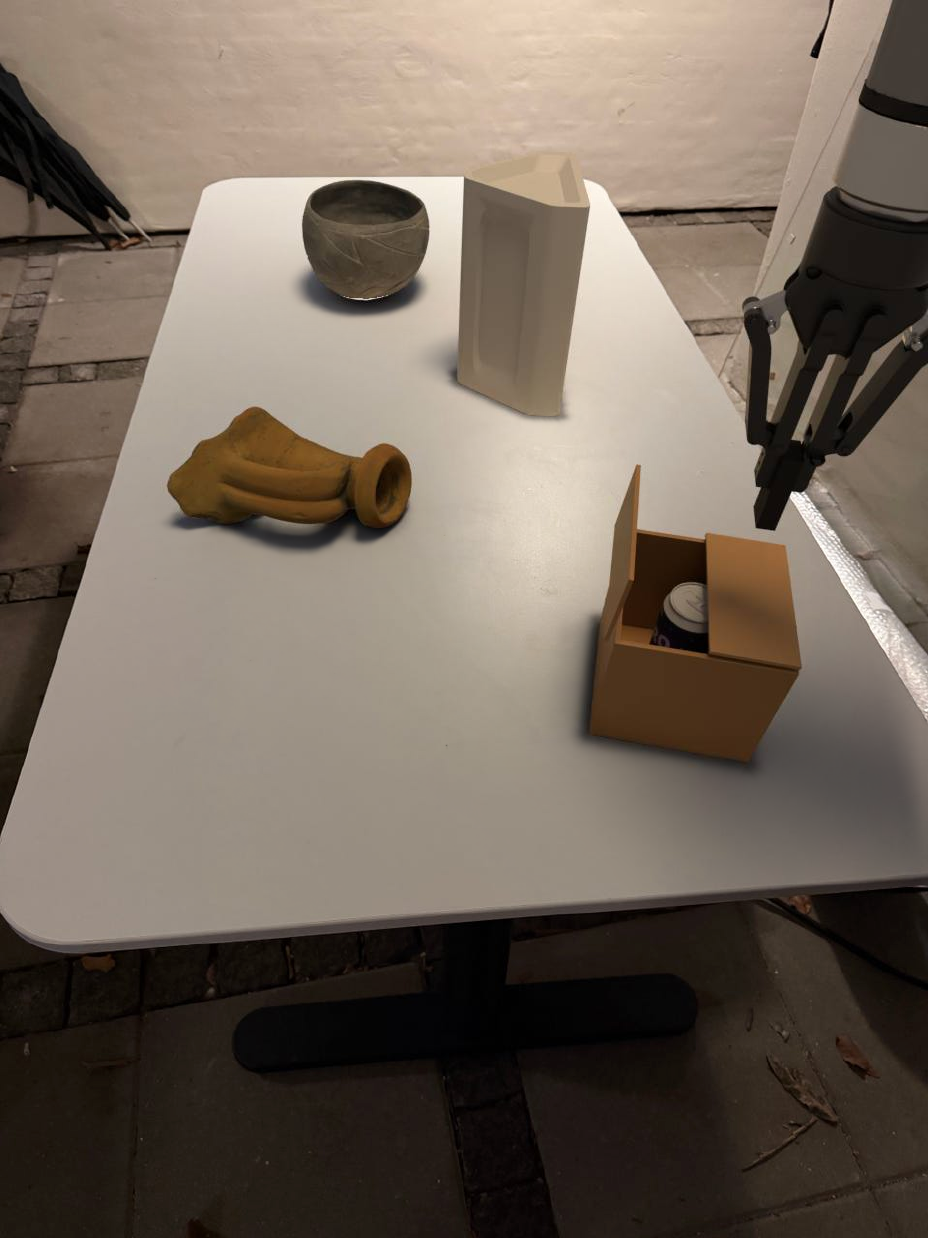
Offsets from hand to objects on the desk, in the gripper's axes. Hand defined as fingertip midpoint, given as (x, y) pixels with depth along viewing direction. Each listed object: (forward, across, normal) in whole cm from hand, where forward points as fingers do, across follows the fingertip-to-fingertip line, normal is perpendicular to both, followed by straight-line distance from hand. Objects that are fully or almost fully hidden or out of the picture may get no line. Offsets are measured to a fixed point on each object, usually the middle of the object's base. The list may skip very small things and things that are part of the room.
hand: (764, 518), depth 61 cm
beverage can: (+23, +3, 0) cm, 23 cm away
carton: (+23, +2, 0) cm, 23 cm away
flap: (+9, -2, 0) cm, 9 cm away
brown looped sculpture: (+23, +47, -17) cm, 55 cm away
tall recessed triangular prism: (+22, +27, -54) cm, 65 cm away
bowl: (+22, +55, -76) cm, 97 cm away
